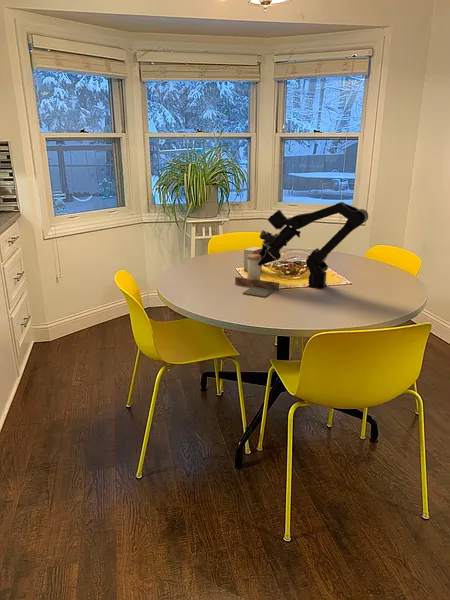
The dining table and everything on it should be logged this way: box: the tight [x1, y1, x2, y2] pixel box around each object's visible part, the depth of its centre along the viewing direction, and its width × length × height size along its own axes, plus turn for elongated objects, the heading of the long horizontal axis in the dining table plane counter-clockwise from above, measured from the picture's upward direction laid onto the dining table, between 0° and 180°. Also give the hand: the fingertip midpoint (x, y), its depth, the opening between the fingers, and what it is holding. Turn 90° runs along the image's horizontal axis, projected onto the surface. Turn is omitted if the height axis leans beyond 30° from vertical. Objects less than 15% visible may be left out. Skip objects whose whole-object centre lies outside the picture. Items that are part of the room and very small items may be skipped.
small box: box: [243, 246, 263, 272], centre depth 221 cm, size 8×6×10 cm
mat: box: [242, 286, 275, 298], centre depth 189 cm, size 10×10×1 cm
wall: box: [234, 276, 280, 291], centre depth 196 cm, size 20×1×3 cm, turn 63°
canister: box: [247, 254, 261, 280], centre depth 201 cm, size 6×6×12 cm
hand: (257, 262), depth 200 cm, fingers open, 9 cm apart
